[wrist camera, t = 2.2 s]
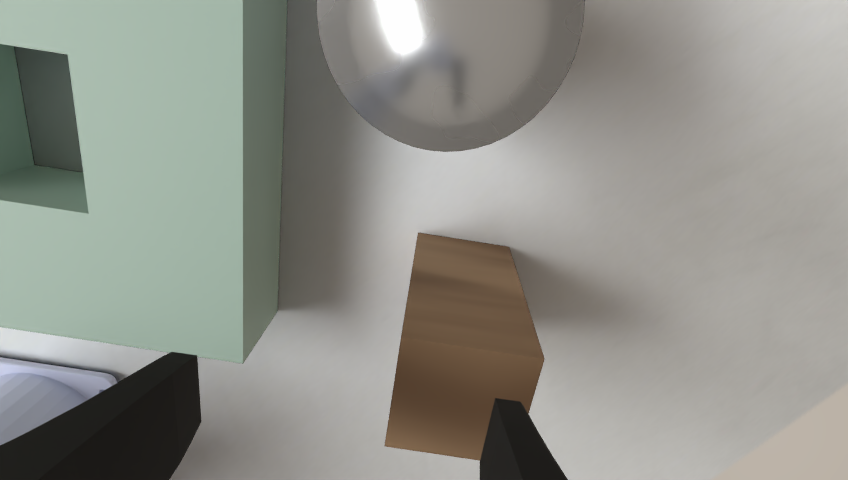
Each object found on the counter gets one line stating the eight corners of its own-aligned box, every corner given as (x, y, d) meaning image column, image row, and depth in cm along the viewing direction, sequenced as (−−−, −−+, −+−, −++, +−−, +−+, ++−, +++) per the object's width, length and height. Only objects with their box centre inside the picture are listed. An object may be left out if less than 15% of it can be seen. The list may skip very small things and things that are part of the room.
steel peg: (507, 121, 18) (547, 168, 11) (366, 99, 18) (309, 131, 11) (541, -42, 16) (620, -121, 9) (382, -68, 16) (325, -169, 9)
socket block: (277, 311, 22) (242, 363, 18) (-62, 259, 22) (-166, 301, 18) (290, -89, 16) (242, -132, 12) (-177, -165, 16) (-369, -232, 12)
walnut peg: (490, 324, 22) (512, 465, 14) (406, 311, 22) (384, 446, 14) (509, 246, 20) (544, 358, 13) (418, 232, 20) (401, 337, 13)
